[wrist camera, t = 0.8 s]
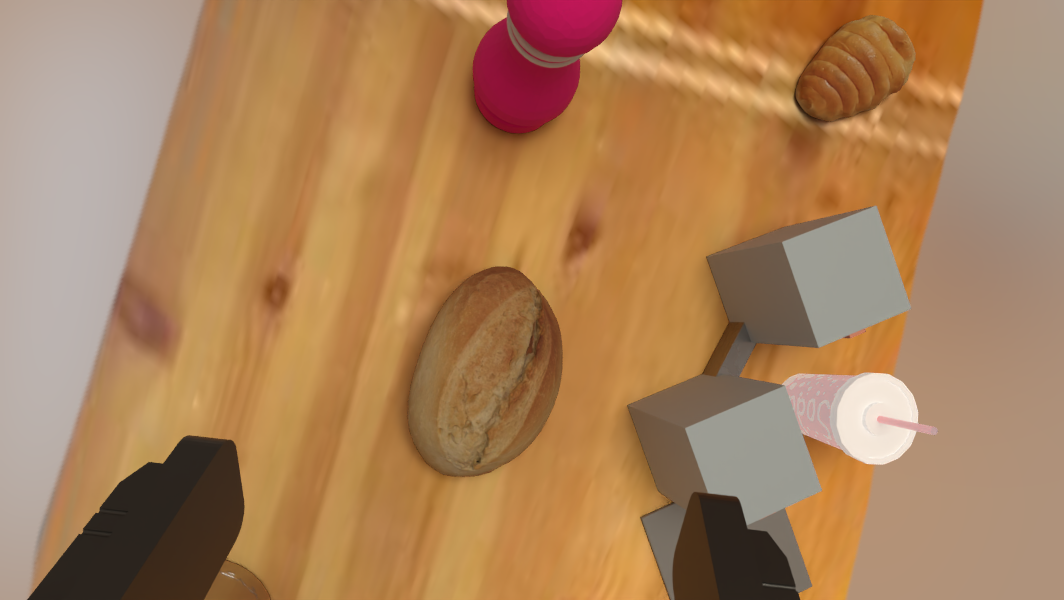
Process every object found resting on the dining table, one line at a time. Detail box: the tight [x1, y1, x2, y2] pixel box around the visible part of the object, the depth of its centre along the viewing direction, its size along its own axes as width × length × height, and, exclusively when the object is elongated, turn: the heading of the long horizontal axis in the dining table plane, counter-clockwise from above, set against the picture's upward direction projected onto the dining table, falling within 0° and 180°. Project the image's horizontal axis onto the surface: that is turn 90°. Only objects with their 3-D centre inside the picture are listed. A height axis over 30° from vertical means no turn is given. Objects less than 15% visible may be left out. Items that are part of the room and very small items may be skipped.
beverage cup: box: [782, 373, 938, 464], centre depth 49 cm, size 6×6×14 cm
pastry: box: [795, 15, 915, 122], centre depth 55 cm, size 9×7×4 cm
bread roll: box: [407, 267, 562, 477], centre depth 47 cm, size 10×15×8 cm, turn 163°
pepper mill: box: [473, 0, 622, 133], centre depth 42 cm, size 7×7×20 cm
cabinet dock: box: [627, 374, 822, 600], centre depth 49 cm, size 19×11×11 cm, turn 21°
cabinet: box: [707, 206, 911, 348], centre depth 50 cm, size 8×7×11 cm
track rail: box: [703, 322, 756, 377], centre depth 53 cm, size 13×2×2 cm, turn 151°
